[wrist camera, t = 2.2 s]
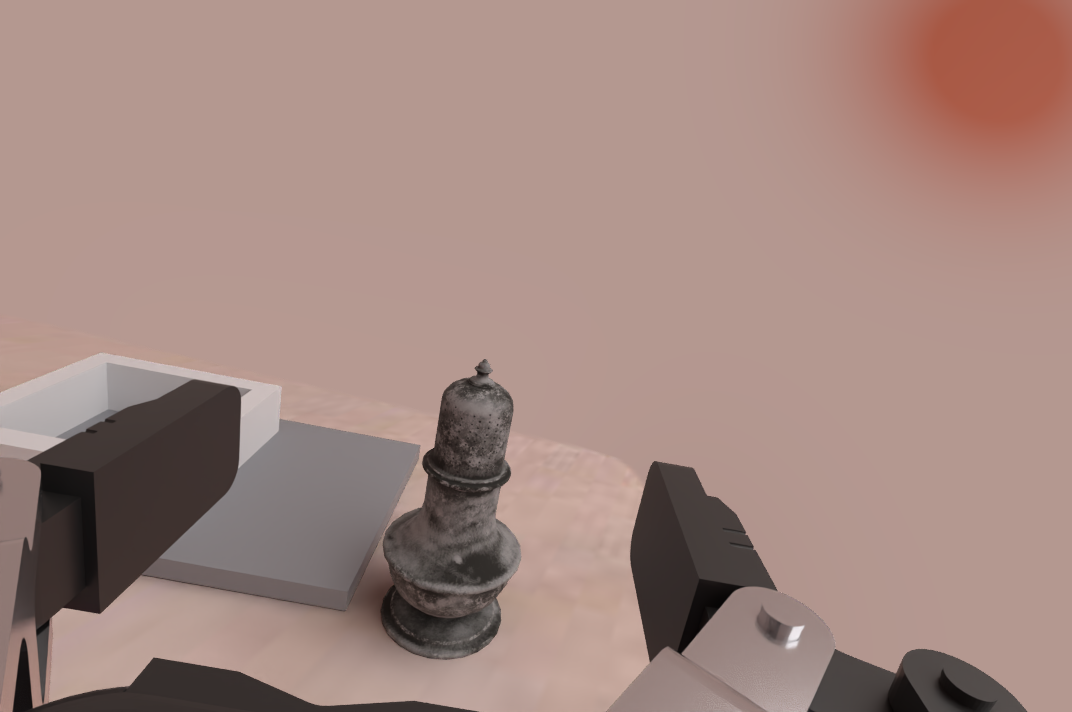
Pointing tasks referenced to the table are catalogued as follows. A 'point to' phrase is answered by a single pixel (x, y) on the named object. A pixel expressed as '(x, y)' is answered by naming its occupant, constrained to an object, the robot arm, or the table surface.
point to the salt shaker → (455, 530)
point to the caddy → (239, 481)
